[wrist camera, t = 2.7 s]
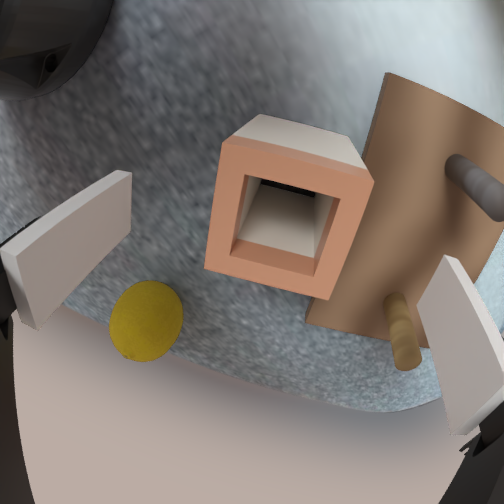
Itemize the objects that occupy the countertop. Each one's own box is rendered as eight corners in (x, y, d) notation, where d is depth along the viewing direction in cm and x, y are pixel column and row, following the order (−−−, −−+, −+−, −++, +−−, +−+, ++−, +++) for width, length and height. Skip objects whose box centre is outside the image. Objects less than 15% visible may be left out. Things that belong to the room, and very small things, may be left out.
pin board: (305, 312, 26) (300, 383, 20) (385, 72, 16) (424, 72, 10) (427, 339, 25) (444, 403, 19) (527, 143, 15) (588, 178, 9)
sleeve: (243, 194, 22) (203, 268, 14) (259, 113, 19) (222, 142, 11) (324, 214, 21) (328, 300, 14) (347, 136, 18) (374, 181, 11)
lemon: (126, 277, 27) (80, 338, 21) (166, 252, 25) (120, 318, 18) (165, 320, 29) (131, 385, 23) (208, 301, 27) (177, 374, 20)
